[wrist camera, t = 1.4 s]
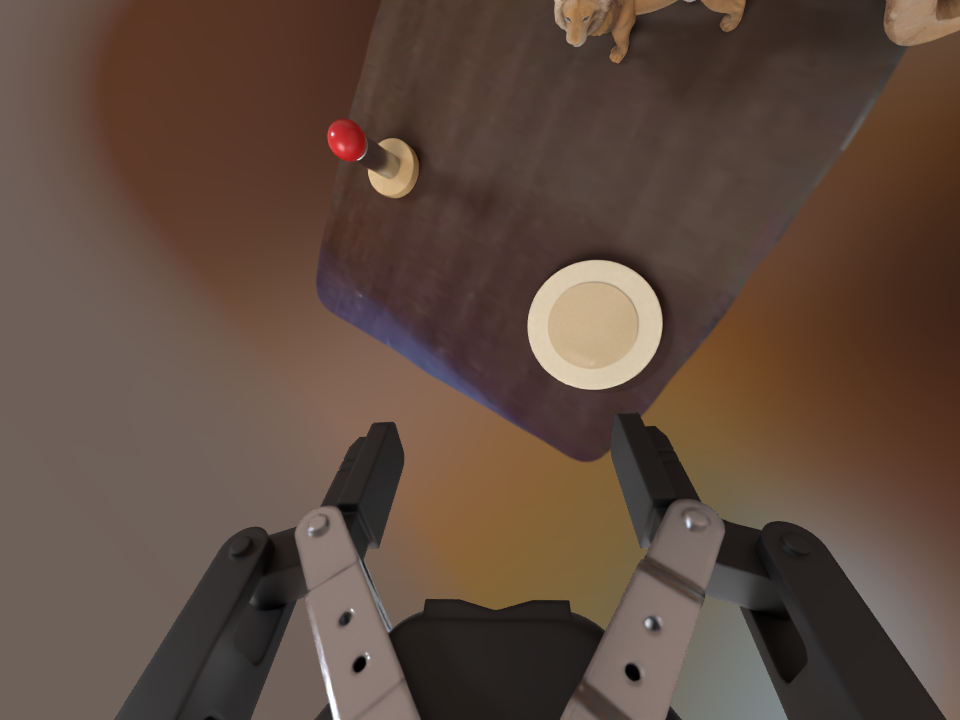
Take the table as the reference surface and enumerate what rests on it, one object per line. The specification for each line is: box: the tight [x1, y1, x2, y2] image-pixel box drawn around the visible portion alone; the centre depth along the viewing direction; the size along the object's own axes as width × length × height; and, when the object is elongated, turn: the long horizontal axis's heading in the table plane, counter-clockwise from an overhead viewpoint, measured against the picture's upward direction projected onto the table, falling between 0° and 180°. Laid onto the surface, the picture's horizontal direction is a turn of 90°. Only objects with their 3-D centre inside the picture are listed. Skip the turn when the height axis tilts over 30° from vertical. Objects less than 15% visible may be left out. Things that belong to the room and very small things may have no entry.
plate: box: [528, 260, 663, 389], centre depth 34 cm, size 12×12×1 cm
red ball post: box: [328, 119, 419, 198], centre depth 35 cm, size 6×6×9 cm
